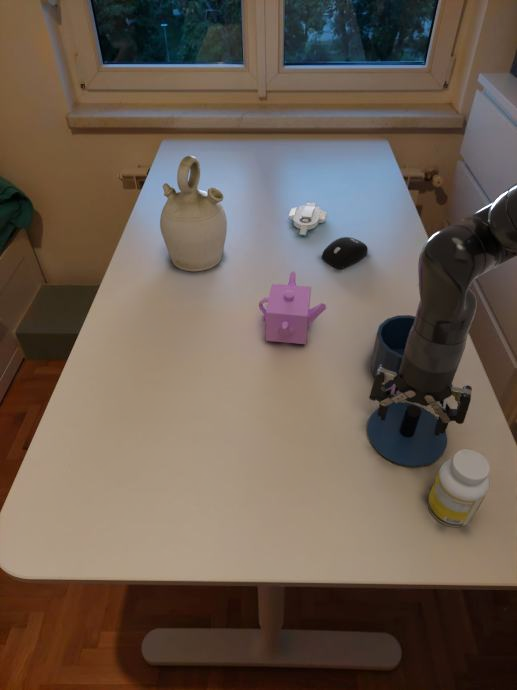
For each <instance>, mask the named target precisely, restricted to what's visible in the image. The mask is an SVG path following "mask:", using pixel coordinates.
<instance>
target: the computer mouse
mask: <svg viewBox="0 0 517 690" xmlns="http://www.w3.org/2000/svg"><path fill="white" fill-rule="evenodd" d="M368 249H369V247H368V246H367V245H366V244H365V243H364V242H362V241H361V240H359V239H356V238H354V237H349V236H343V237H339V238H337V239H335V240H333V241H332V242H331V243H329V245H327V246H326V247H325V248H324V250H323V252H322V253H321V259H322V260H323V261H324V262H326V263H327V264H328V265H330V266H332V267H334V268H336V269H339V270H341V269H345V268H347V267H349V266H351V265H353V264H355V263H357V262H358V261H360V260H362V259H363V258H364V257H365V256H366V255H367V254H368V252H369V251H368Z"/></svg>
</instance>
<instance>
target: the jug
mask: <svg viewBox="0 0 517 690" xmlns="http://www.w3.org/2000/svg"><path fill="white" fill-rule="evenodd" d="M200 178H201V165H200V161H199V159H197V158H196V157H195V156H193V155H186V156H184V157H183V158H182V159H181V161H180V163H179V165H178V168H177V175H176V182H177V183H176V184H177V187H178V189H179V191H176V187H174V186H172V185H170V184H168V183H167V182H166V183H163V185H162V189H163V192H164V193H163V196H164V197H166V198H167V200H166V202H165V203H164V205H163V208H162V209H161V213H160V218H159V228H160V232H161V235H162V236H161V237H162V239H163V241H164V244H165V247H166V250H167V253H168V255H169V257H170V259H171V262H172V264H173V265H174V266H175V267H176V268H178V270H179V269H180V270H182V271H185V272H202V271H206V270H210V269H212V268H215V267H216V266H217V265H218V264H220V262H221V260H222V258H223V253H224V248H225V243H226V238H227V232H228V231H227V230H228V229H227V228H228V220H227V218H228V217H227V214H226V211H225V208H224V206H223V205H222V203H221V202H223V200H224V194H223V192H222V191H221V190H220V189H218V188H216V187H209V188H208V189H207V191H205V190H202V189H199V188H198V186H199V182H200Z"/></svg>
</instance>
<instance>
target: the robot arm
mask: <svg viewBox="0 0 517 690" xmlns="http://www.w3.org/2000/svg"><path fill="white" fill-rule="evenodd" d="M516 257H517V182H516V183H515V184H513V185H511V186H510V187H508V188H507V189H506V190H505V191H503V192H502V193H500V194H499V195H498V196H497V197H496V198H495V199H494V200H493V202H491V203H489V204H488V205H486V206H484V207H482V208H480V209H479V210H477V211H475V212H473V213H472V214H469V215H468V216H466V217H464V218H462V219H460V220H458V221H456V222H453V223H452V224H449V225H447V226H445V227H444V228H442V229H439V230H438V231H436V232H434V233H433V234H432V235H430V237H429V238H428V239H427V240H426V241H425V243H424V245H423V247H422V248H421V251H420V254H419V258H418V263H417V268H418V269H417V273H418V292H419V303H418V305H417V309H416V313H415V320H414V323H413V326H412V328H411V330H410V332H409V335H408V338H407V341H406V342H407V343H406V347H405V350H404V354H403V358H402V362H401V366H400V369H399V370H398V371H396V372H393V371H390V370H387V369H386V368H387V367H386V365H384V364H380V365H379V367H378V370H377V373H376V376H375V378H374V380H373V383H372V386H371V390H370V393H369V395H368V397H369V400H370V401H377V402H378V403H379V405H378V408H379V409H378V416H380V417H381V420H383V421H385V418H386V414H387V410H388V406H389V405H390V404H392V403H395V404H396V403H398V402H404V401H405V400H406V402H407V403H411V404H418V405H421V406H423V407H428V406H430V407H431V409H432V410H433V413H435V414H434V415H438V417H437V418H438V420H437V423H436V426H435V432H434V435H437V436H439V434H440V433H441V434H443V433H445V431H446V432H447V428H448V426H449V424H450V423H451V422H455V423H456V424H459V425H463V424H464V423H465V420H466V417H467V413H468V410H469V408H470V405H471V400H472V390H473V387H472V386H470V385H468V384H467V385H463V387H462V388H461V387H457V386H453V381H454V379H455V376H456V373H457V371H458V368H459V365H460V363H461V360H462V357H463V354H464V353H465V348H466V344H467V338H468V335H469V333H470V329H471V327H472V325H473V322H474V319H475V316H476V313H477V308H478V300H477V297H476V294H475V293H474V292H473V290H472V289H470V286H471V285H472V283H473V282H474V281H475V280H478V279H479V278H481V277H482V276H484V275H486V274H487V273H490V272H491V271H493V270H494V269H497V268H499V267H500V266H502V265H504V264H506V263H507V262H509V261H511V260H513V259H515V258H516ZM389 380H393V381H394V384H393V386H392V387H390V388H386V389H384V390H383V389H382V386H383V385H385V383H387V382H388V381H389ZM382 384H383V385H382ZM451 396H453V397H454V400H455V402H456V404H457V407H456V408H452V407H451V404H449V402H448V400H447V399H449V398H451Z"/></svg>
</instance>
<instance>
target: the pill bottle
mask: <svg viewBox="0 0 517 690" xmlns="http://www.w3.org/2000/svg"><path fill="white" fill-rule="evenodd" d="M490 471H491V466H490V463H489V461H488V459H487V458H486V457H485V456H484V455H483V454H482V453H480V452H478V451H477V450H474V449H468V448H464V449H460V450H458V451H456V452H455V453H454V455H453V457H451V458H449V459H447V460H445V461H444V463H442V465H441V467H440V469H439V470H438V473H437V476H436V478H435V479H434V482H433V485H432V487H431V489H430V492H429V495H428V498H427V506H428V509H429V511H430V513H431V515H432V516H433V517H434V518H435V519H436V520H437V521H439V523H441V524H443V525H445V526H448V527H452V528H461V527H463V526H466V525H468V524H469V523H470V522H471V521H472V520H473V518H474V517H475V515H476V514H477V512H478V510H479V508H480V506H481V505H482V503H483V501H484V499H485V497H486V496H487V494H488V492H489V489H490V483H491V481H490V477H489V474H490Z"/></svg>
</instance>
